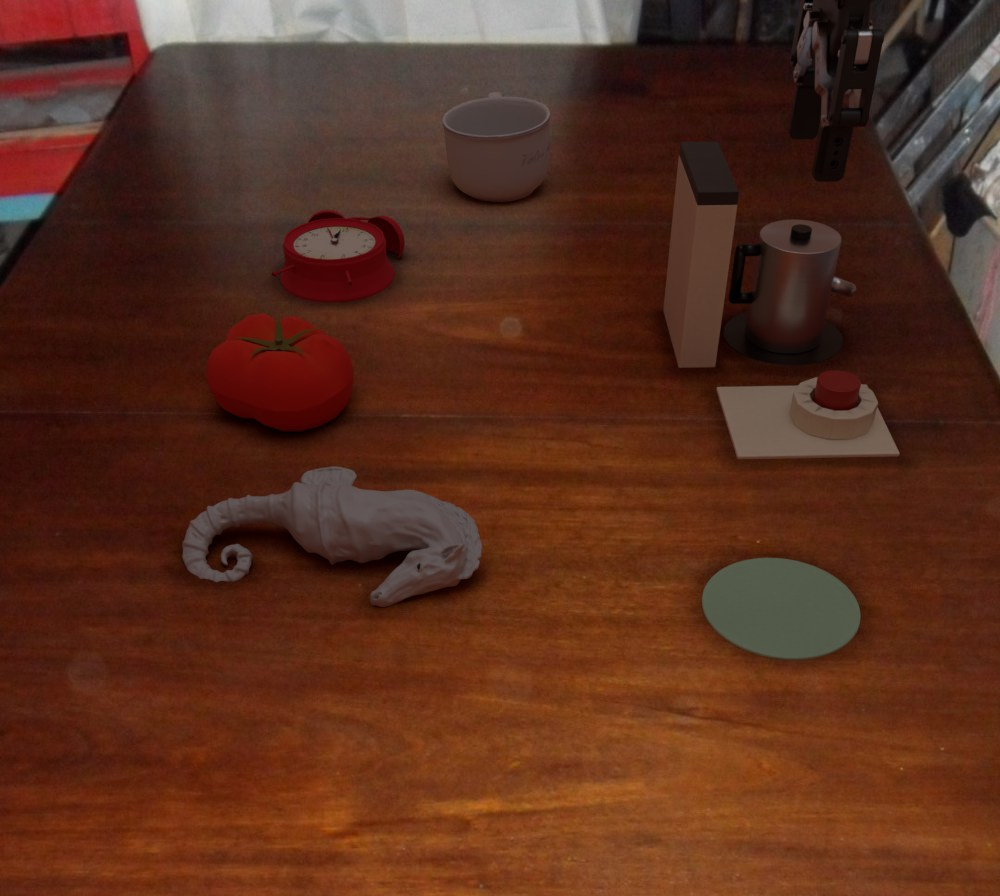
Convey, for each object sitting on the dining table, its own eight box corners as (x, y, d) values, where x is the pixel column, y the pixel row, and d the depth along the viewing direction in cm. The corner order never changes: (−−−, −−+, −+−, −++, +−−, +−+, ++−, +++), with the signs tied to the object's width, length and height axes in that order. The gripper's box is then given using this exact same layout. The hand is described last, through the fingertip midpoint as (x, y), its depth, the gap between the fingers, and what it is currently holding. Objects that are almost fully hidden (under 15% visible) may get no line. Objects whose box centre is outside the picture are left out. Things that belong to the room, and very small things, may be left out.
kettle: (837, 316, 103) (859, 210, 96) (855, 353, 98) (879, 244, 92) (717, 318, 102) (731, 212, 96) (729, 355, 98) (745, 246, 91)
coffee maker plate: (826, 317, 105) (828, 307, 104) (853, 375, 98) (855, 364, 97) (713, 319, 104) (714, 308, 104) (732, 377, 97) (733, 366, 97)
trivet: (838, 565, 80) (840, 555, 79) (875, 666, 73) (878, 656, 72) (690, 568, 80) (691, 558, 79) (713, 669, 73) (714, 659, 72)
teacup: (541, 217, 120) (543, 134, 114) (435, 211, 121) (432, 128, 115) (558, 166, 129) (560, 86, 124) (460, 160, 131) (458, 81, 125)
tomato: (304, 459, 89) (293, 380, 84) (193, 419, 93) (176, 341, 88) (379, 401, 95) (373, 324, 90) (272, 366, 99) (260, 290, 94)
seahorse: (167, 619, 74) (482, 568, 73) (168, 469, 79) (464, 419, 78) (196, 656, 79) (492, 609, 78) (195, 512, 84) (474, 466, 83)
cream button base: (863, 397, 95) (871, 363, 93) (896, 467, 88) (906, 432, 86) (714, 400, 95) (719, 365, 93) (735, 470, 88) (741, 435, 86)
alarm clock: (253, 267, 104) (308, 165, 111) (269, 325, 109) (320, 224, 117) (366, 280, 102) (414, 175, 109) (376, 338, 107) (422, 235, 115)
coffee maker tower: (696, 319, 104) (717, 141, 94) (713, 377, 97) (739, 191, 87) (662, 320, 104) (680, 141, 94) (677, 378, 97) (698, 191, 87)
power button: (850, 390, 91) (855, 369, 90) (860, 412, 89) (865, 391, 87) (809, 391, 91) (813, 370, 89) (818, 413, 88) (822, 391, 87)
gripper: (948, -71, 74) (887, 195, 85) (888, -120, 84) (841, 124, 95) (828, -71, 73) (783, 196, 85) (782, -120, 83) (747, 124, 95)
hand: (813, 157), depth 90 cm, fingers open, 8 cm apart
